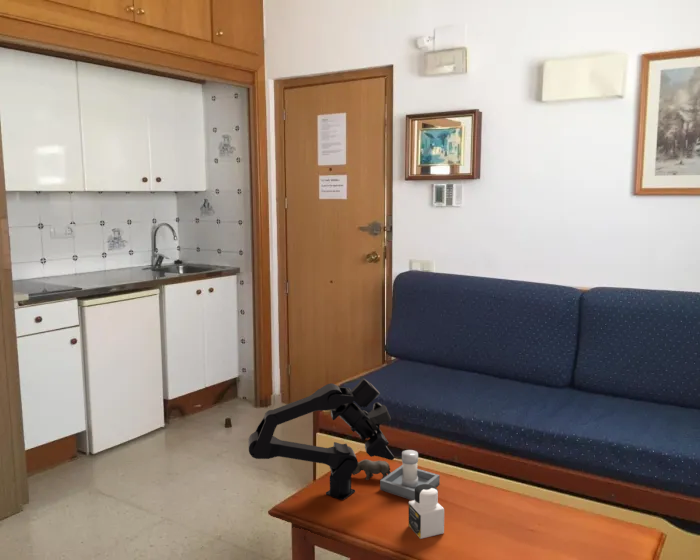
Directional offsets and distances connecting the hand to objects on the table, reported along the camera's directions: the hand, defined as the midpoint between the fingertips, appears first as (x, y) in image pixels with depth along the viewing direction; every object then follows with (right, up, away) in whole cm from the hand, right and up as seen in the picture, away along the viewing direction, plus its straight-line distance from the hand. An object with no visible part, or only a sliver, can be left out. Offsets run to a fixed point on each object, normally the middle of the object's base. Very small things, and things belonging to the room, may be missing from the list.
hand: (390, 451), depth 192 cm
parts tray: (+6, -11, +3) cm, 13 cm away
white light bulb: (+6, -11, +2) cm, 12 cm away
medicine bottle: (+8, -15, -21) cm, 27 cm away
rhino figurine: (-6, -11, +9) cm, 15 cm away
